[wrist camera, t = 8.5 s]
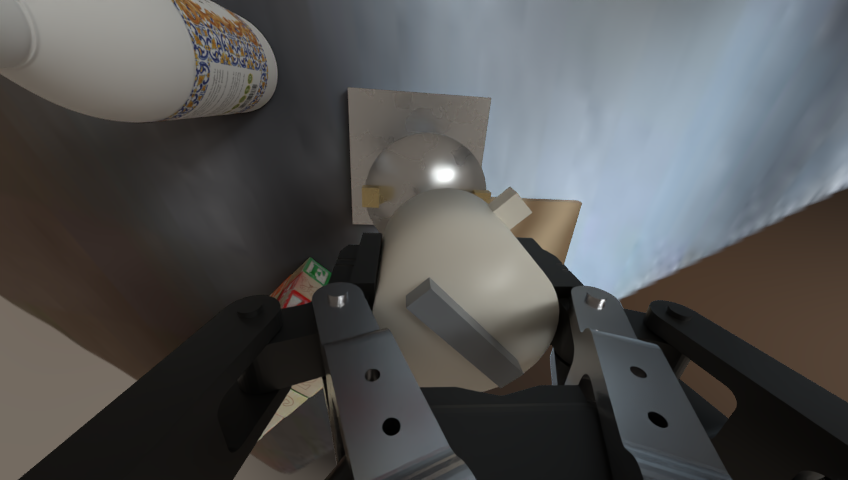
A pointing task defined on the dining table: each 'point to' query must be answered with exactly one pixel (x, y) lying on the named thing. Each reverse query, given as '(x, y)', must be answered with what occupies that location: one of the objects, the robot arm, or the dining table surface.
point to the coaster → (549, 224)
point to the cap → (463, 290)
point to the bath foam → (137, 57)
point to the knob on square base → (412, 148)
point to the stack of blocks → (292, 294)
